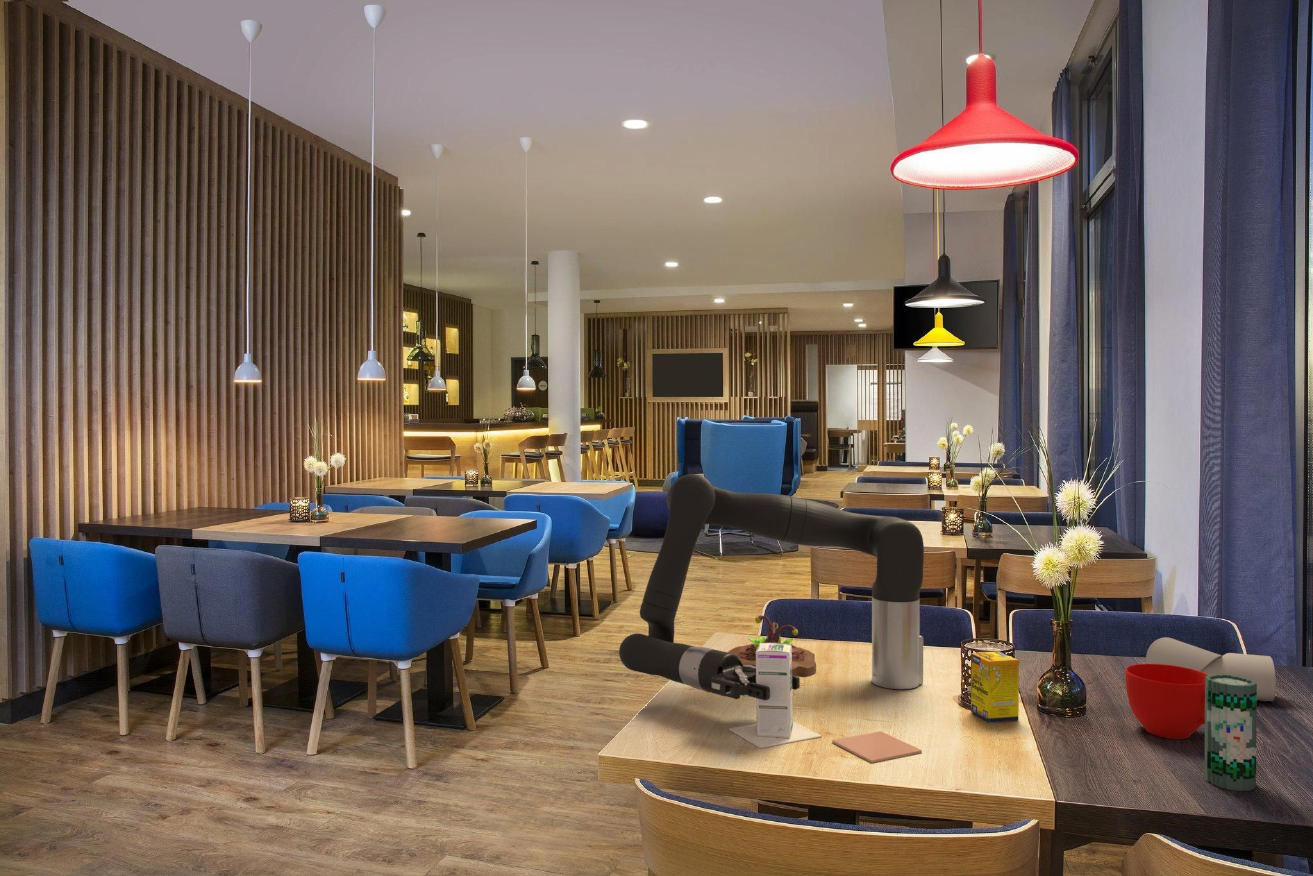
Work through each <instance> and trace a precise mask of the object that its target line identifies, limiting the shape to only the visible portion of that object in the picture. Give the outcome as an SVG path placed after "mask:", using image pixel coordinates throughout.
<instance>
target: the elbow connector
mask: <svg viewBox="0 0 1313 876" xmlns="http://www.w3.org/2000/svg"><path fill="white" fill-rule="evenodd" d="M1145 657H1146V658H1145V659H1146V661H1145V662H1146V664H1164V665H1173V666H1179V667H1185V668H1190V669H1194V670H1197V671H1200V672H1203V673H1206V674H1208V675H1212V674H1226V675H1234V676H1241V677H1245V678H1249V679H1250V680H1254V681H1255V683H1256V684H1257V700H1260V701H1259V702H1266V701H1273V702H1274V700H1275V697H1276V688H1277V679H1276V670H1275V664H1274V659H1273V658H1272V657H1271V656H1270V655H1260V654H1259V655H1257V654H1247V653H1245V654H1244V653H1234V652H1227V653H1225V654H1223V655H1222V654H1219V653H1215V652H1212V651H1210V650H1208V649H1207V650H1206V649H1203V648H1200V647H1198V646H1195V645H1192V644H1189V643H1186V642H1183V641H1180V640H1177V639H1175V638H1171V637H1166V636H1165V637H1161V638H1158V639H1155V640H1154V641H1153V642H1152V643H1151V644H1150V646H1149V647H1148V648H1147V651H1146V656H1145Z"/></svg>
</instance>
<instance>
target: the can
mask: <svg viewBox="0 0 1313 876" xmlns="http://www.w3.org/2000/svg"><path fill="white" fill-rule="evenodd" d="M1257 702H1258V701H1257V684H1256V683H1255V681H1254V680H1250V679H1249V678H1245V677H1241V676H1234V675H1226V674H1212V675H1207V676H1205V724H1204V779H1205V780H1206V782H1207V783H1210V785H1214V786H1216V787H1219V788H1223V789H1226V790H1232V791H1240V792H1243V791H1247V792H1249V791H1252V790H1255V788H1257V723H1258V722H1257V719H1258V718H1257V715H1258V714H1257V713H1258V712H1257V710H1258V709H1257V706H1258V705H1257Z"/></svg>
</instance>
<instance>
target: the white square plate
mask: <svg viewBox="0 0 1313 876" xmlns="http://www.w3.org/2000/svg"><path fill="white" fill-rule="evenodd" d="M728 730H729V731H731V733H734V734H736V735H737V736H739V737H740V738H742V739H744V740H745V741H747V742H749V743H751V744H752V745H753V746H756V747H757V748H759V749H764V748H770V747H775V746H780V745H785V744H791V743H796V742H803V741H808V740H813V739H818V738H822V735H821V734H819V733H817V732H815V731H813V730H811V729H809V728H808V727H806V726H803V725H801V724H800V723H798V722H796V721H794V720H793V729H792V733H791V737H790V738H778V737H765V736H758V735H757V723H754V724H747V725H742V726H741V725H740V726H736V727H735V726H734V727H730V728H728Z"/></svg>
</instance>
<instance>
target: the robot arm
mask: <svg viewBox="0 0 1313 876" xmlns="http://www.w3.org/2000/svg"><path fill="white" fill-rule="evenodd" d="M665 499H666V506H667V509H668V519H667V525H666V529H665V533H664V538H663V540H662V544H661V547H660V549H659V552H658V555H657V557H656V560H655V561H654V562H655V563H654V565H653V567H652V570H651V573H650V575H649V579H648V582H647V585H646V588H645V591H644V595H643V597H642V600H641V601H642V602H641V605H640V607H639V616H640V618H641V619H642V620H643V621H644V622H646V623H647V624H648V634H644V633H632V634H630V635H628V636H626V637H625V638H624V639H623V640H622V641H621V643H620V645H619V648H618V656H619V659H620V661H621V663H622V665H623V666H625V668H627V669H628V670H630V671H634V672H636V673H641V674H647V675H651V676H659V677H662V678H665V679H667V680H670V681H673V682H675V683H679V684H681V685H686V686H689V687H692V688H694V689H695V690H700V691H702V692H707V693H711V694H713V695H718V696H721V697H727V698H730V699H734V700H738V699H740V698H741V697H743V698H749V697H751V698H754V699H756V698H758V699H761V700H769V699H770V688H769V687H768V686H764V685H760V684H756V666H752V665H743V664H742V663H741V661H740V659H739V658H738V657H737V656H736V655H735V654H732V653H728V651H723V650H718V649H713V648H708V647H705V646H694V645H690V644H685V643H679V642H675V620H676V616H677V612H678V609H679V605H680V602H681V599H682V595H683V590H684V588H685V587H684V586H685V582H686V579H687V575H688V572H689V567H690V564H691V560H692V556H693V553H694V550H695V547H696V544H697V542H698V539H699V536H700V534H701V531H702V529H703V527H704V525H711V526H720V527H727V528H732V529H735V530H736V529H737V530H739V531H743V532H746V533H749V534H752V535H756V536H758V537H763V538H767V539H771V540H776V541H779V542H785V543H788V544H789V543H790V544H793V545H798V546H799V545H800V546H808V547H832V548H833V547H836V548H837V547H838V548H845V549H850V550H853V551H857V552H860V553H863V554H867V555H870V556H872V557H876V576H875V580H874V582H873V584H872V586H871V682H872V684H874V685H876V686H878V687H880V688H881V687H882V688H884V689H885V688H886V689H892V690H893V689H894V690H909V689H914V688H917V687H919V686H920V685H922V684H924V637H923V635H920V597H921V596H920V592H921V589H922V586H923V580H924V562H925V561H924V559H925V555H924V554H925V551H924V550H925V549H924V548H925V547H924V537H923V534H922V533H921V531H920V529H919V528H918V527H917V526H916V524H914V523H912V522H910V521H908V520H905V519H903V518H901V517H896V516H885V515H884V516H883V515H871V514H861V513H854V512H850V511H845V510H842V509H839V508H837V507H833V506H831V505H828V504H824V503H821V502H817V501H814V500H810V499H806V498H801V497H796V496H791V495H787V494H786V495H784V494H778V493H760V492H759V493H757V492H754V493H751V492H750V493H749V492H737V491H732V490H728V489H724V488H720V487H717V486H714V485H713V484H712V483H711V482H710V481H709V479H707V478H706V477H704V476H703V475H701V474H697V473H691V474H689V473H688V474H686V475H683V476H681V477H679V478H678V479H676V480H675V481H674V482H673V484H671V486H670V488H669V489H668V492H667V494H666V498H665ZM800 683H801V682H800V676H794V675H792V690H793V691H794V690H795V691H796V690H799V689H800Z"/></svg>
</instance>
